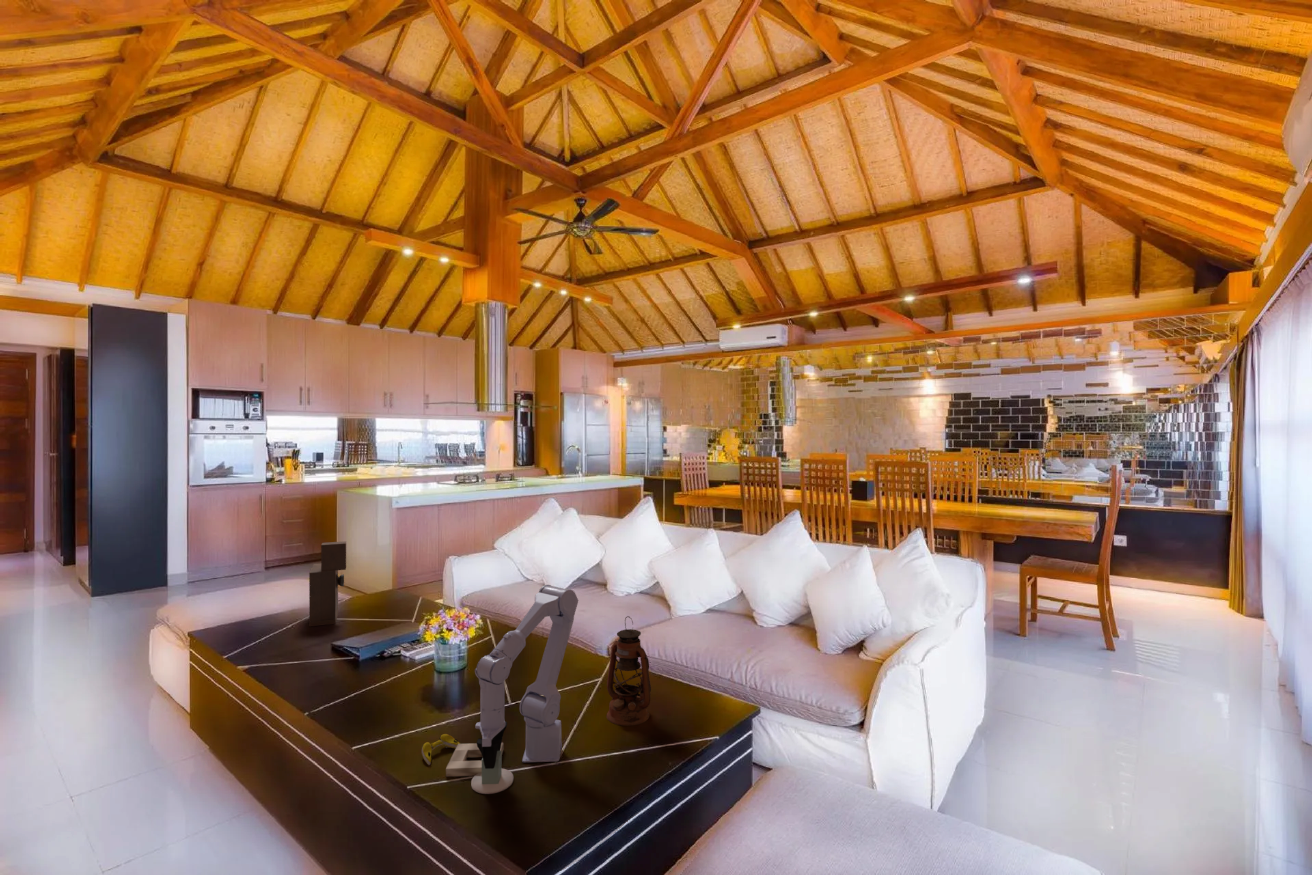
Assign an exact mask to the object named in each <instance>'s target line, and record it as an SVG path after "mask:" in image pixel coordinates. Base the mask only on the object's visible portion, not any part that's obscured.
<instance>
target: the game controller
mask: <svg viewBox="0 0 1312 875" xmlns="http://www.w3.org/2000/svg"><path fill="white" fill-rule="evenodd" d="M458 744H461V742H459V741H458V739H456V738H454V737H453V736H452V735H449V734H447V733H444V734H441V735H440V736H439V739H438V740H437V741H435V742H431V743H430V742H428V741H427V742H425V743H424V744H422V747H421V755H422V758H423V760H424V762H425V763H426V764H427V765H428V766H430V765H431V762H432V751H433V750H434V749H436V748H438V747H442V746H445V749H450V748H451V749H454V750H455V749H456V747H457V745H458Z"/></svg>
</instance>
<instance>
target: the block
mask: <svg viewBox="0 0 1312 875" xmlns="http://www.w3.org/2000/svg"><path fill="white" fill-rule="evenodd" d="M502 755H503V753H502V751H497V756H496V763H495V767H494V768H493V769H485V766H484V761H483V757H481V760H482V784H499V781H500V778H501V775H502V769H503V768H502V765H503V764H502V759H503V756H502Z"/></svg>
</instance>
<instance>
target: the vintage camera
mask: <svg viewBox="0 0 1312 875" xmlns="http://www.w3.org/2000/svg"><path fill="white" fill-rule="evenodd" d="M320 551H321V552H320V554H321V555H320V559H321V560H320V563H313V564H312V567H311V569H310V571H309V573H308V577H309V583H308V585H309V586H308V587H309V590H308V593H309V595H308V596H309V600H308V603H309V606H308V607H309V608H308V610H309V611H308V612H309V615H308V616H309V617H308V618H309V623H308V627H315V626H323V625H325V626H326V625H332V624H333V625H334V624H337V619H338V615H339V586H340V587H344V586H345V575H344V574H341V575H339V571H345V570H346V569H347V541H333V542H329V541H328V542H322V543H321V545H320Z"/></svg>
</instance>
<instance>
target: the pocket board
mask: <svg viewBox="0 0 1312 875" xmlns="http://www.w3.org/2000/svg"><path fill="white" fill-rule="evenodd" d="M500 751H502V754H503V753H504V742H502V743H501V748H500ZM468 758H483V757H482V754H481V752H480V750H479V748H478V747H477V742H476V743H460V744H458V745H457V747H456V749H454V751H453V753H452V755H451V757H450V759H449V761H448V763H447V765H446V768H445V777H472V776H473V777H474V776H475V775H477V774H478V773H482V759H481V760H468Z"/></svg>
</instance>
